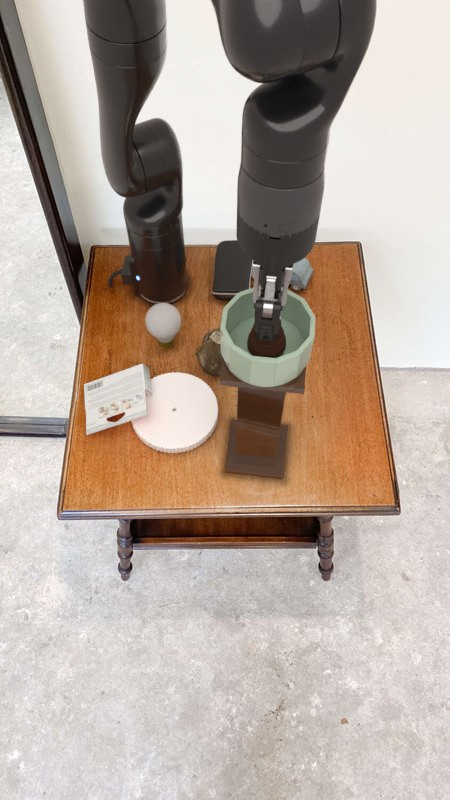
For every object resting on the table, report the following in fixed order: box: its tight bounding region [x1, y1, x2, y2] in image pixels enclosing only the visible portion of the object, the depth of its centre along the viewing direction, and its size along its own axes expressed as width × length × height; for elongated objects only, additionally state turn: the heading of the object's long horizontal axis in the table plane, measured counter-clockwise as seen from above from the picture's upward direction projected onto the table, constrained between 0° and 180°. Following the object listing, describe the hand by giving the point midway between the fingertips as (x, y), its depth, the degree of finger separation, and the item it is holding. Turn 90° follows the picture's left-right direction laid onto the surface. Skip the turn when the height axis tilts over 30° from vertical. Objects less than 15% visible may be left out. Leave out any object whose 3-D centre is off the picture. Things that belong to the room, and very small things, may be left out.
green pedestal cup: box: [218, 284, 317, 480], centre depth 88 cm, size 11×11×34 cm
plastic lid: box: [130, 371, 219, 454], centre depth 104 cm, size 14×14×2 cm
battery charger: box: [211, 239, 253, 301], centre depth 118 cm, size 7×4×11 cm
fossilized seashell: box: [194, 327, 223, 377], centre depth 109 cm, size 8×7×10 cm
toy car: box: [282, 257, 315, 292], centre depth 117 cm, size 6×10×5 cm, turn 66°
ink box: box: [83, 363, 152, 436], centre depth 103 cm, size 2×11×10 cm
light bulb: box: [144, 303, 182, 350], centre depth 108 cm, size 6×6×10 cm
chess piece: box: [247, 291, 286, 358], centre depth 73 cm, size 5×5×10 cm
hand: (268, 316), depth 72 cm, fingers closed on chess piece, 5 cm apart
